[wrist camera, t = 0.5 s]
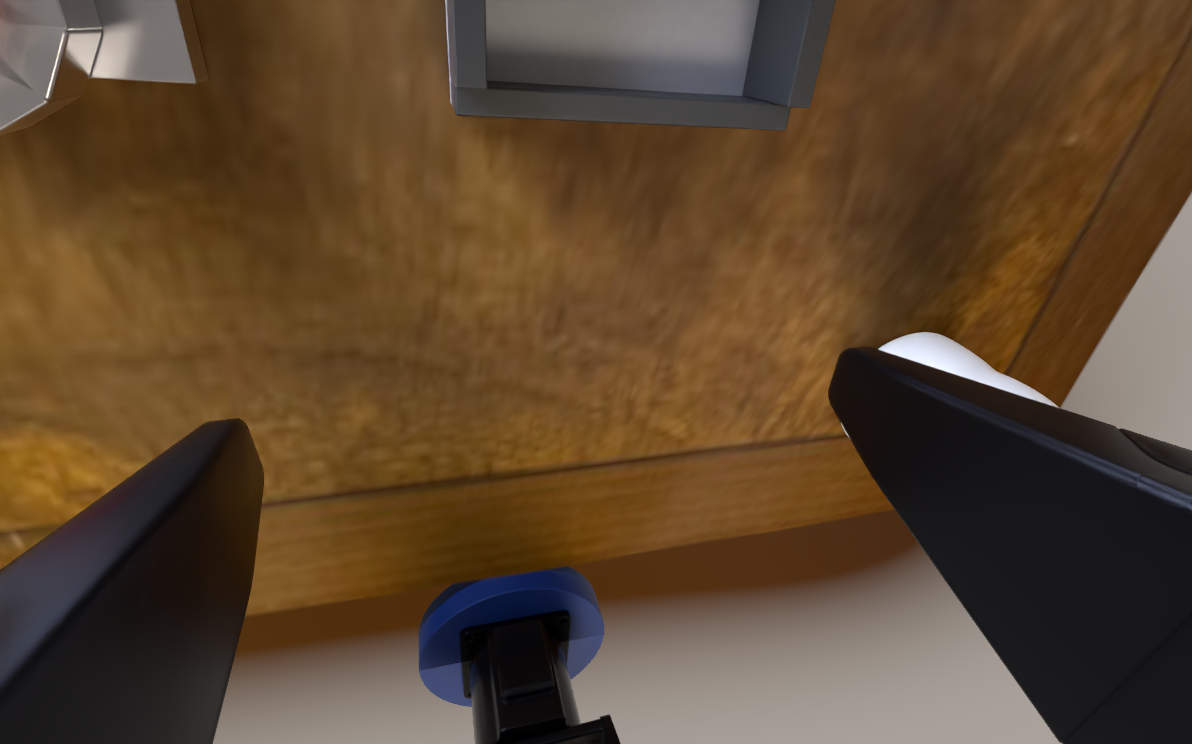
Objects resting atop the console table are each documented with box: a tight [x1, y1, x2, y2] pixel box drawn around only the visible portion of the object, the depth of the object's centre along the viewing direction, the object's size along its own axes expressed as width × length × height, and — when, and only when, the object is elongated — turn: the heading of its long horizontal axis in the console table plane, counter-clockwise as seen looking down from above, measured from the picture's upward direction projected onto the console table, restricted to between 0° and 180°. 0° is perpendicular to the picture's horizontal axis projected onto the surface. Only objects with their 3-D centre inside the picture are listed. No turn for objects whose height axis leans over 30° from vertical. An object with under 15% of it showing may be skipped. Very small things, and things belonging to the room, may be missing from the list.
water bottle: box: [841, 332, 1059, 438], centre depth 20 cm, size 7×7×25 cm
